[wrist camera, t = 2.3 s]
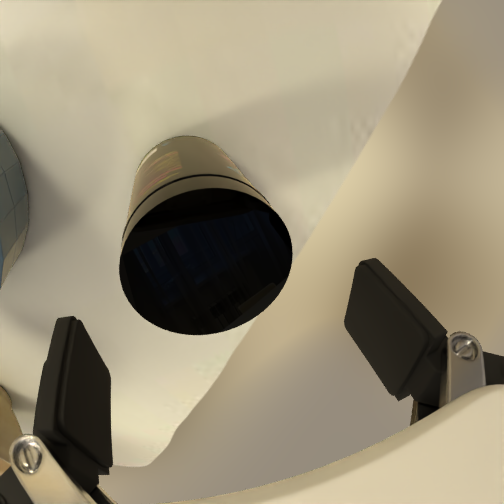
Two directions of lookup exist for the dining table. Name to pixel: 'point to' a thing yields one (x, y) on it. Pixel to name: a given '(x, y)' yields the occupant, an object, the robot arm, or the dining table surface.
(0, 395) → the planter bowl
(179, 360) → the dining table surface
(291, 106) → the dining table surface
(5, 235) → the basin
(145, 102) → the dining table surface
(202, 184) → the supplement container
